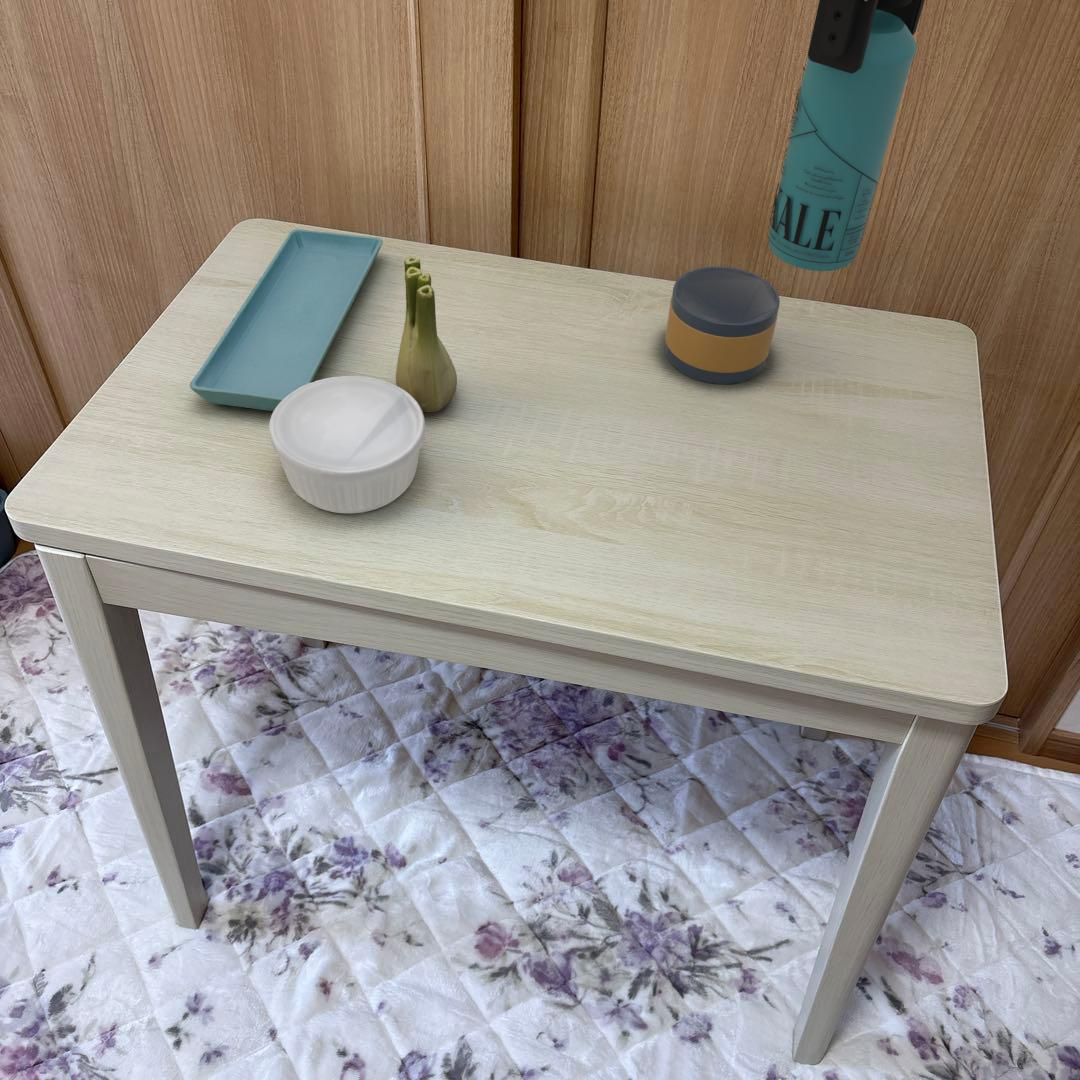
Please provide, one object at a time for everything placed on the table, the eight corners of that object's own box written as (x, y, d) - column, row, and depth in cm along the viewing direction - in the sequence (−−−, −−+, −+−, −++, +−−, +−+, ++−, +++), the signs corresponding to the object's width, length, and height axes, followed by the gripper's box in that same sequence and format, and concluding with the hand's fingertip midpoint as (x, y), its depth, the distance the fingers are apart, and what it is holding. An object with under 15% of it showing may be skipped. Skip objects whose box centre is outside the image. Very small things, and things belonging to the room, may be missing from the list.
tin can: (735, 316, 98) (747, 258, 93) (786, 373, 92) (801, 314, 87) (646, 334, 95) (654, 275, 91) (692, 393, 89) (703, 333, 85)
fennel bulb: (407, 375, 89) (398, 248, 81) (463, 382, 89) (461, 255, 80) (389, 418, 85) (379, 289, 77) (449, 425, 85) (445, 297, 76)
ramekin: (433, 520, 77) (430, 466, 74) (277, 532, 76) (266, 478, 72) (421, 423, 85) (418, 370, 81) (279, 432, 83) (270, 378, 80)
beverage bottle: (848, 247, 76) (933, -59, 62) (859, 297, 72) (954, -21, 57) (757, 240, 76) (821, -67, 62) (762, 289, 72) (833, -30, 57)
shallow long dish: (294, 246, 103) (291, 223, 101) (385, 257, 102) (384, 234, 101) (192, 411, 85) (186, 387, 83) (302, 426, 84) (299, 401, 82)
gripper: (960, -311, 44) (852, 112, 57) (1095, -341, 54) (977, 26, 67) (801, -334, 47) (733, 72, 60) (956, -358, 57) (868, -4, 70)
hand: (862, 45), depth 63 cm, fingers closed on beverage bottle, 6 cm apart
